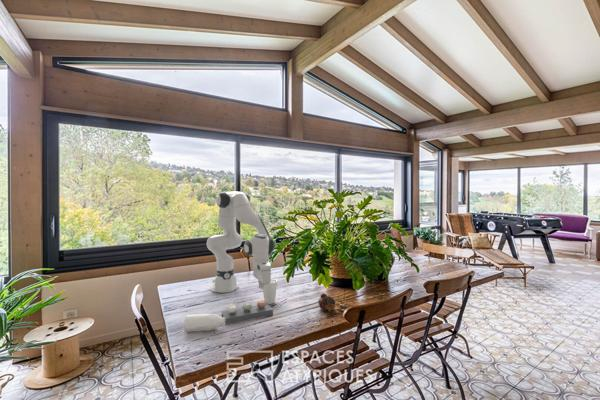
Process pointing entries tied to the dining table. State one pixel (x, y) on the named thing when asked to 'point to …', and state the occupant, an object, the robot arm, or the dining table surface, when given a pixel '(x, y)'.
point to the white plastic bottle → (203, 322)
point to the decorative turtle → (326, 303)
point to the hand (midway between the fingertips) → (261, 288)
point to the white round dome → (232, 309)
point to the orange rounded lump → (261, 304)
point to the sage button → (247, 307)
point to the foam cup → (270, 291)
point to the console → (247, 314)
